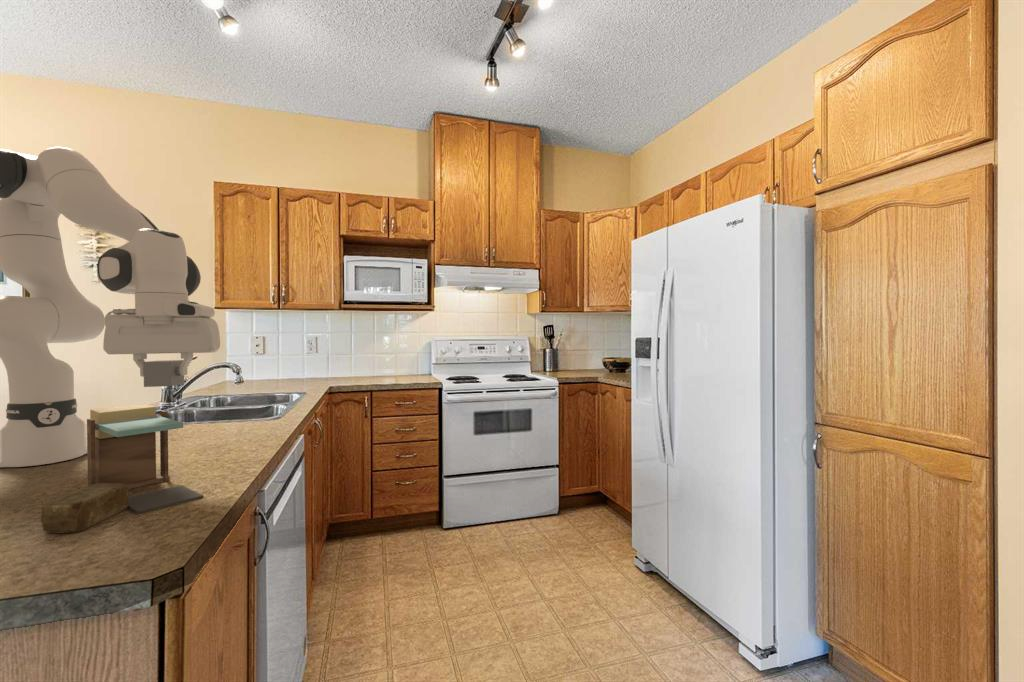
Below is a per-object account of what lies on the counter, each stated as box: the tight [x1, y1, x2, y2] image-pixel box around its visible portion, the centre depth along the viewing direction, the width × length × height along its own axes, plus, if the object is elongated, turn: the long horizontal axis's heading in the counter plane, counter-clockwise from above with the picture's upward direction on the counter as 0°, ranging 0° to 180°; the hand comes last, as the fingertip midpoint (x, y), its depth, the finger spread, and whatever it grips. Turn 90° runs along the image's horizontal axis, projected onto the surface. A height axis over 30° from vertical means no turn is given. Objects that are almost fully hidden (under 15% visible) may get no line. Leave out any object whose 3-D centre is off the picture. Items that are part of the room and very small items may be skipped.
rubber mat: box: [127, 484, 204, 515], centre depth 87 cm, size 10×10×1 cm
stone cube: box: [143, 359, 185, 388], centre depth 97 cm, size 5×5×5 cm
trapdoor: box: [89, 403, 184, 439], centre depth 92 cm, size 18×10×5 cm, turn 55°
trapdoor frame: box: [77, 410, 171, 490], centre depth 95 cm, size 8×13×14 cm, turn 145°
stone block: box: [40, 483, 129, 534], centre depth 78 cm, size 6×12×5 cm, turn 5°
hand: (164, 375), depth 97 cm, fingers closed on stone cube, 5 cm apart
